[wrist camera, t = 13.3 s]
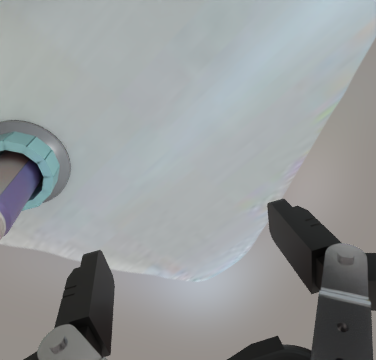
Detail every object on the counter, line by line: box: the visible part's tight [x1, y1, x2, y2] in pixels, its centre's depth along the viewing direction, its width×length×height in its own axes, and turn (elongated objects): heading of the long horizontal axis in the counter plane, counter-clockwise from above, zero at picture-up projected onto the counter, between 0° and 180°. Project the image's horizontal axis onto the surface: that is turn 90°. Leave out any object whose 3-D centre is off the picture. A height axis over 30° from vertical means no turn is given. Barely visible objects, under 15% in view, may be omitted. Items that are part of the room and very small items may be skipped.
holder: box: [0, 120, 71, 211], centre depth 40 cm, size 13×13×5 cm
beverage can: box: [0, 150, 43, 239], centre depth 35 cm, size 6×6×15 cm
